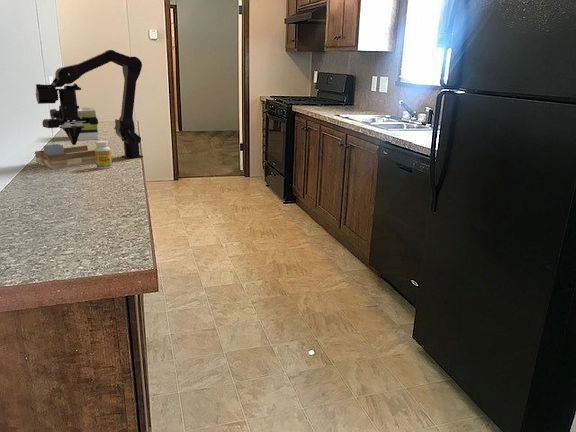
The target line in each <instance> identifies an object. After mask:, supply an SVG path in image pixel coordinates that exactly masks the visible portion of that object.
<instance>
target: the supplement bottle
mask: <svg viewBox="0 0 576 432" xmlns="http://www.w3.org/2000/svg"><path fill="white" fill-rule="evenodd" d="M108 145H109V143H108V140H100V141H99V140H98V141H97V140H96V141H95V146H96V147H95V148H94V150H95V156H96V162H95V163H96V168H97V169H98V170H104V169H105V170H107V169H111V168H113V162H112V161H113V160H112V152H111V151H112V150H111V147H109V146H108Z"/></svg>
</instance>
